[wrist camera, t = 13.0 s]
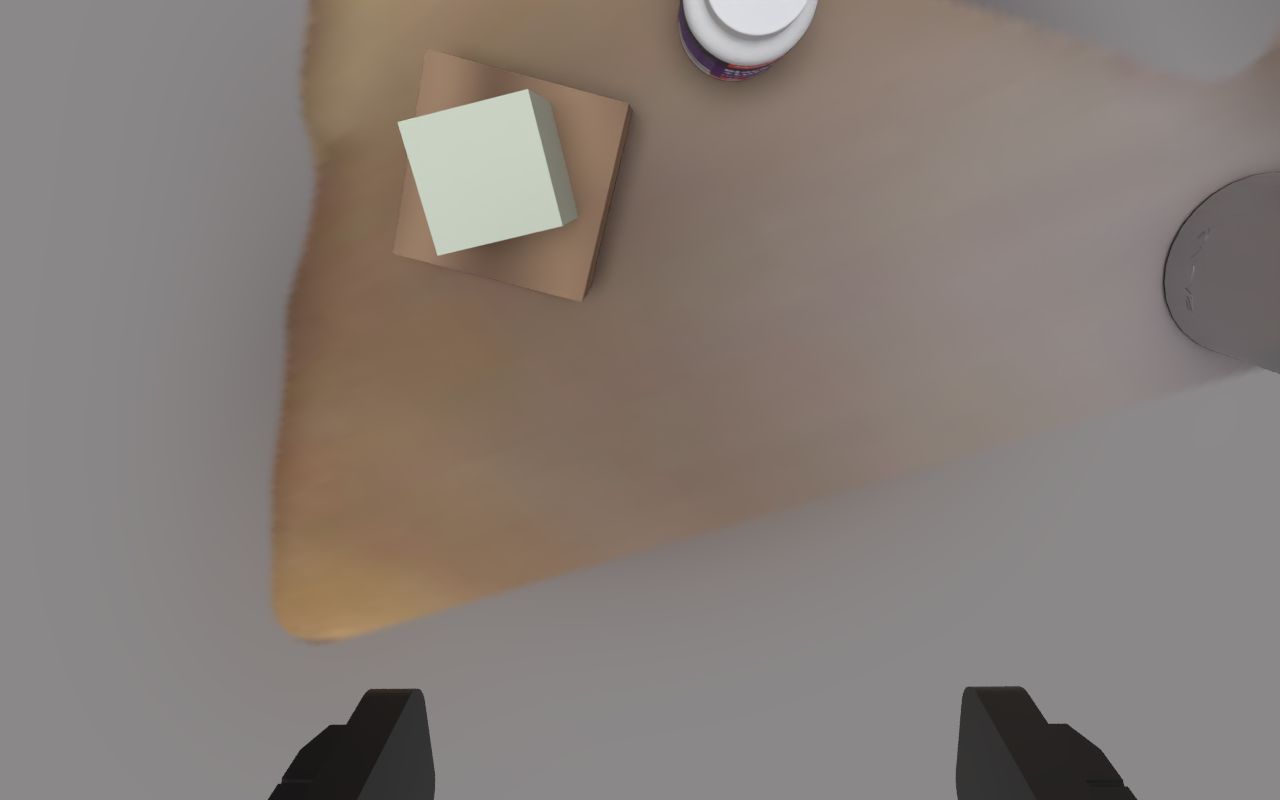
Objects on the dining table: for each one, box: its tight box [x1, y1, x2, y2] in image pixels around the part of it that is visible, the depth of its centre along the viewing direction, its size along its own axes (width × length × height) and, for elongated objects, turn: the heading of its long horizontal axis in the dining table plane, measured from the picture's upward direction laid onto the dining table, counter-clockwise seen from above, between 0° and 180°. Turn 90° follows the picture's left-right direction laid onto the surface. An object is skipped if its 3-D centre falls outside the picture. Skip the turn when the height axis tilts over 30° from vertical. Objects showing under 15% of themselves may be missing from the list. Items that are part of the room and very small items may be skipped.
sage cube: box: [398, 89, 579, 256], centre depth 32 cm, size 5×5×6 cm
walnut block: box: [393, 49, 633, 302], centre depth 38 cm, size 9×9×5 cm
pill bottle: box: [678, 0, 818, 81], centre depth 33 cm, size 5×5×10 cm
